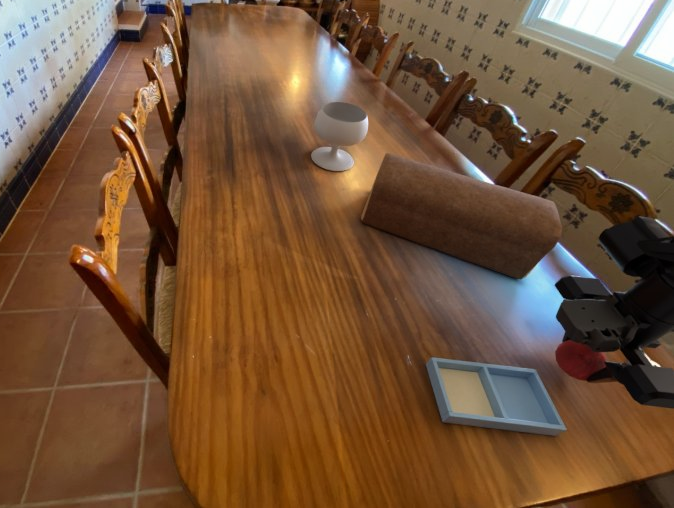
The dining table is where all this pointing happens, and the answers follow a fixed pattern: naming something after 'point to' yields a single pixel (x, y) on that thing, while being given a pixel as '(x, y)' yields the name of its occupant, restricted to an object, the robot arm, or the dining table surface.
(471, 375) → the divided blue tray
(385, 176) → the bread
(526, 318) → the dining table surface
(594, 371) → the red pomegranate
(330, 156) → the chalice
